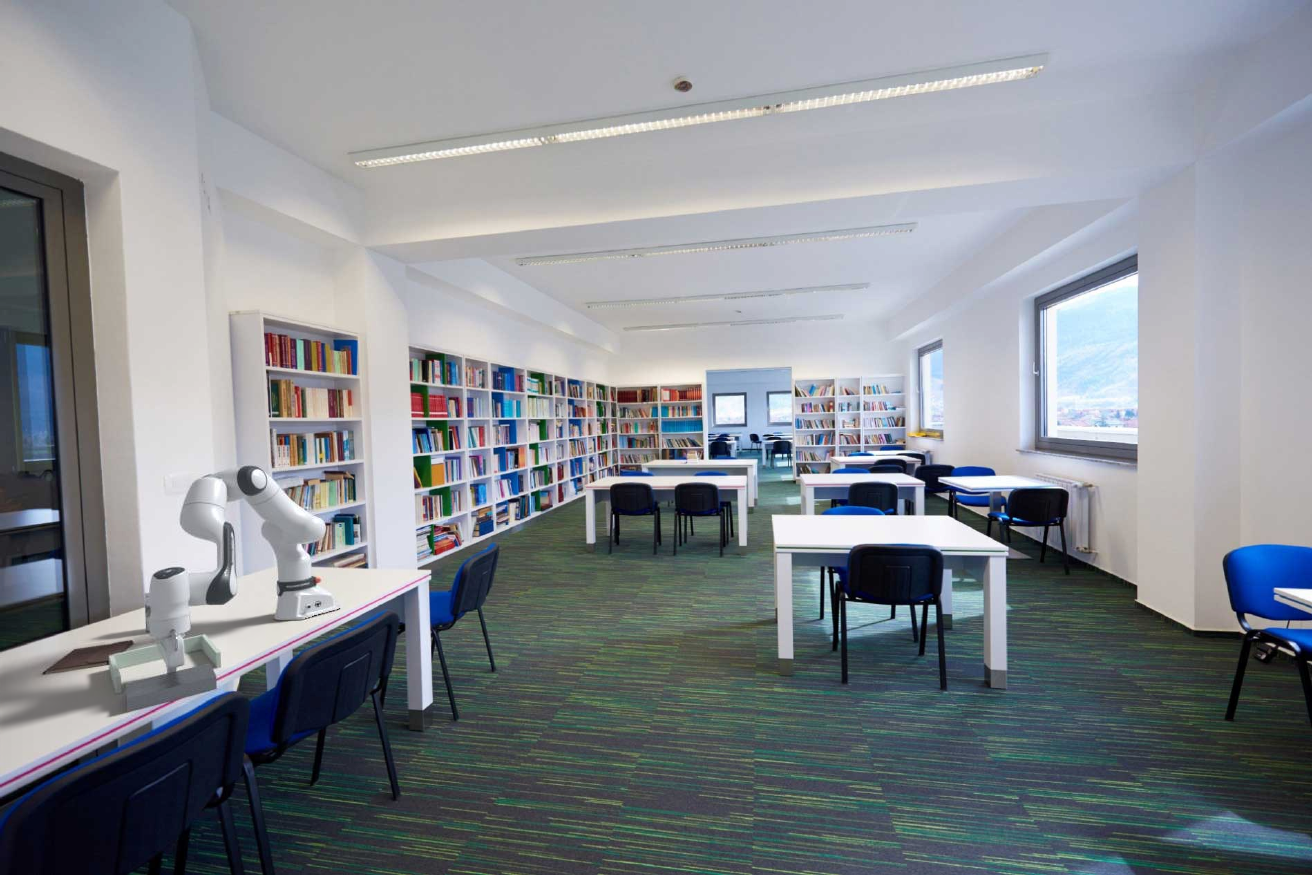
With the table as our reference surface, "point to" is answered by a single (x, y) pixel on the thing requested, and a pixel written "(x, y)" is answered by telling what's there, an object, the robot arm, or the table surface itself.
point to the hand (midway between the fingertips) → (171, 674)
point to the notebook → (88, 657)
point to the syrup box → (147, 611)
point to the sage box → (158, 656)
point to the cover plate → (170, 687)
